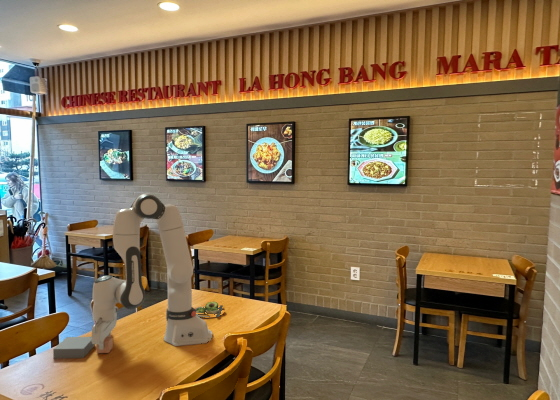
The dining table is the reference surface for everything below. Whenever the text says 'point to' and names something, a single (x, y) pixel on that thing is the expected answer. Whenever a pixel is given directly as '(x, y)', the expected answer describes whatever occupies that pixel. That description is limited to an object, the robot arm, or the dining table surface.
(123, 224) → the robot arm
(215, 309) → the salad plate
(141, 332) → the dining table surface
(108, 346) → the terracotta block
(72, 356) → the grey square slab
